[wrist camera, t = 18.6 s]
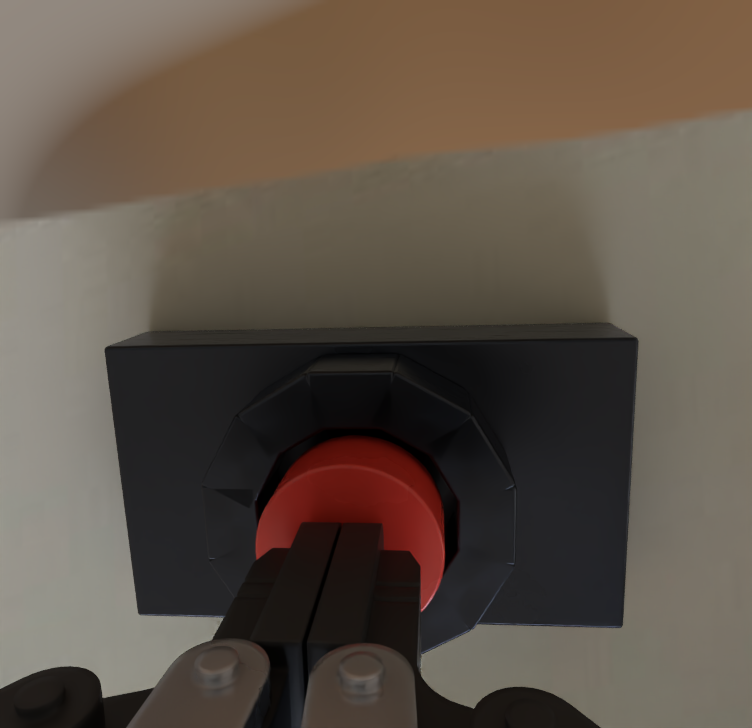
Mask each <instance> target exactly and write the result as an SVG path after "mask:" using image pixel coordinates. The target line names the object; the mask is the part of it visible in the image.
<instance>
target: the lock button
mask: <svg viewBox="0 0 752 728" xmlns="http://www.w3.org/2000/svg"><path fill="white" fill-rule="evenodd" d="M302 522H337V523H341V524H342V525H343V523H382V524H383V533H384V550H402V551H410V552H411V553H412V555H413V556H414V558H415V559H416V560H417V562H418V563H419V565H420V566H421V612H422V611H423V610H424V609H425V608H426V607H427V605H428V604H429V603H430V601H431V600H432V599H433V597H434V595H435V593H436V591H437V590H438V587H439V585H440V582H441V579H442V576H443V571H444V565H445V534H444V510H443V503H442V499H441V495H440V492H439V490H438V487H437V485H436V483H435V481H434V479H433V477H432V476H431V474H430V473H429V472H428V470H427V469H426V468H425V466H424V465H423V464H422V463H421V462H420V461H419V460H418V459H417V458H416V457H414V456H413V455H412V454H411V453H409V452H408V451H406V450H405V449H403V448H402V447H400V446H398V445H396V444H394V443H392V442H389V441H386V440H383V439H380V438H376V437H371V436H363V435H348V436H341V437H335V438H332V439H329V440H326V441H323V442H321V443H319V444H317V445H315V446H313V447H311V448H310V449H308V450H307V451H305V452H304V453H303V454H302V455H301V456H299V457H298V458H297V459H296V460H295V461H294V463H293V464H292V465H291V466H290V467H289V469H288V471H287V472H286V474H285V475H284V477H283V479H282V480H281V482H280V484H279V485H278V487H277V489H276V490H275V492H274V494H273V495H272V497H271V498H270V500H269V502H268V503H267V505H266V507H265V508H264V511H263V513H262V515H261V517H260V520H259V524H258V527H257V532H256V540H255V551H256V558H257V559H258V558H260V557H261V556H262V555H264V554H265V553H266V552H268V551H269V550H270V549H272V548H290V547H291V545H292V543H293V540H294V538H295V536H296V534H297V531H298V529H299V527H300V525H301V523H302Z"/></svg>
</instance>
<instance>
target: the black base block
mask: <svg viewBox="0 0 752 728" xmlns="http://www.w3.org/2000/svg"><path fill="white" fill-rule="evenodd" d="M638 342H639V341H638V339H637V338H636V337H634V336H633V335H631V334H629V333H627V332H625V331H624V330H622V329H620V328H618V327H616V326H615V325H613V324H611V323H577V324H525V325H473V326H422V327H370V328H318V329H267V330H215V331H163V332H145V333H142V334H140V335H137V336H134V337H131V338H129V339H126V340H123V341H121V342H118V343H115V344H112V345H110V346H107V347H106V348H105V357H106V365H107V373H108V381H109V389H110V396H111V404H112V412H113V420H114V428H115V436H116V443H117V451H118V459H119V467H120V475H121V483H122V490H123V498H124V506H125V514H126V522H127V530H128V537H129V545H130V553H131V561H132V569H133V577H134V584H135V592H136V600H137V608H138V613H139V615H150V616H188V617H225V615H226V613H227V611H228V609H229V607H230V606H231V604H232V602H233V600H234V598H235V597H237V593H238V591H239V589H240V587H241V585H242V583H244V582H245V578H246V576H247V574H248V572H249V570H250V568H251V566H252V565H253V563H254V562H255V561H256V560H257V558H256V551H255V540H256V532H257V527H258V524H259V520H260V517H261V515H262V513H263V511H264V508H265V507H266V505H267V503H268V502H269V500H270V498H271V497H272V495H273V494H274V492H275V490H276V489H277V487H278V485H279V484H280V482H281V480H282V479H283V477H284V475H285V474H286V472H287V471H288V469H289V467H290V466H291V465H292V464H293V463H294V461H295V460H296V459H297V458H298V457H299V456H301V455H302V454H303V453H304V452H305V451H307V450H308V449H310V448H311V447H313V446H315V445H317V444H319V443H321V442H323V441H326V440H329V439H332V438H335V437H341V436H348V435H363V436H371V437H376V438H380V439H383V440H386V441H389V442H392V443H394V444H396V445H398V446H400V447H402V448H403V449H405V450H406V451H408V452H409V453H411V454H412V455H413V456H414V457H416V458H417V459H418V460H419V461H420V462H421V463H422V464H423V465H424V466H425V468H426V469H427V470H428V472H429V473H430V474H431V476H432V477H433V479H434V481H435V483H436V485H437V487H438V490H439V492H440V495H441V499H442V503H443V510H444V534H445V565H444V571H443V576H442V579H441V582H440V585H439V587H438V590H437V591H436V593H435V595H434V597H433V599H432V600H431V601H430V603H429V604H428V605H427V607H426V608H425V609H424V610H423V611H422V612H421V654H423V653H425V652H428V651H430V650H432V649H434V648H436V647H438V646H440V645H442V644H444V643H446V642H448V641H450V640H453V639H455V638H457V637H459V636H461V635H463V634H465V633H467V632H469V631H470V630H471V629H474V628H475V626H476V625H477V624H486V625H524V626H561V627H598V628H621V627H622V626H623V614H624V596H625V578H626V560H627V542H628V523H629V505H630V487H631V469H632V451H633V433H634V414H635V396H636V378H637V360H638Z"/></svg>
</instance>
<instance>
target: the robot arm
mask: <svg viewBox="0 0 752 728" xmlns="http://www.w3.org/2000/svg"><path fill="white" fill-rule="evenodd" d="M420 667H421V566H420V565H419V563H418V562H417V560H416V559H415V558H414V556H413V555H412V553H411V552H410V551H402V550H384V533H383V524H382V523H343V525H342V524H341V523H337V522H302V523H301V525H300V527H299V529H298V531H297V534H296V536H295V538H294V540H293V543H292V545H291V547H290V548H272V549H270V550H269V551H268V552H266V553H265V554H264V555H262V556H261V557H260V558H258V559H257V560H256V561H255V562H254V563H253V565H252V566H251V568H250V570H249V572H248V574H247V576H246V578H245V582H244V583H242V585H241V587H240V589H239V591H238V593H237V597H235V598H234V600H233V602H232V604H231V606H230V607H229V609H228V611H227V613H226V615H225V617H224V619H223V621H222V622H221V624H220V626H219V628H218V630H217V632H216V634H215V636H214V637H213V639H212V641H209V642H205V643H202V644H200V645H197V646H195V647H193V648H191V649H189V650H187V651H186V652H185V653H183V654H182V655H180V656H179V657H178V658H177V659H176V660H175V661H174V662H173V663H172V664H171V665H170V667H169V668H168V670H167V671H166V672H165V674H164V675H163V677H162V678H161V679H160V681H159V682H158V684H157V685H156V686H155V688H151V689H147V690H143V691H138V692H132V693H127V694H122V695H117V696H112V697H107V698H102V691H101V684H100V681H99V679H98V677H97V676H96V675H95V674H94V673H93V672H91V671H89V670H87V669H84V668H80V667H71V666H69V667H57V668H51V669H47V670H43V671H40V672H37V673H34V674H31V675H29V676H27V677H24V678H22V679H20V680H18V681H16V682H14V683H12V684H10V685H8V686H5V687H3V688H1V689H0V728H600V727H599V726H598V725H597V724H595V723H594V722H593V721H591V720H590V719H589V718H587V717H586V716H585V715H583V714H582V713H581V712H580V711H578V710H577V709H576V708H574V707H573V706H572V705H570V704H569V703H567V702H566V701H564V700H563V699H561V698H559V697H557V696H555V695H554V694H551V693H548V692H546V691H543V690H539V689H535V688H527V687H510V688H504V689H500V690H497V691H494V692H492V693H490V694H488V695H487V696H485V697H484V698H482V699H481V700H480V701H479V702H478V703H477V705H476V706H475V708H474V709H473V708H470V707H467V706H464V705H460V704H458V703H455V702H452V701H450V700H448V699H446V698H444V697H442V696H440V695H439V694H438V693H436V692H435V691H433V690H432V689H431V688H430V687H429V686H428V685H427V684H426V682H425V681H424V680H423V678H422V677H421V675H420Z"/></svg>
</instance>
